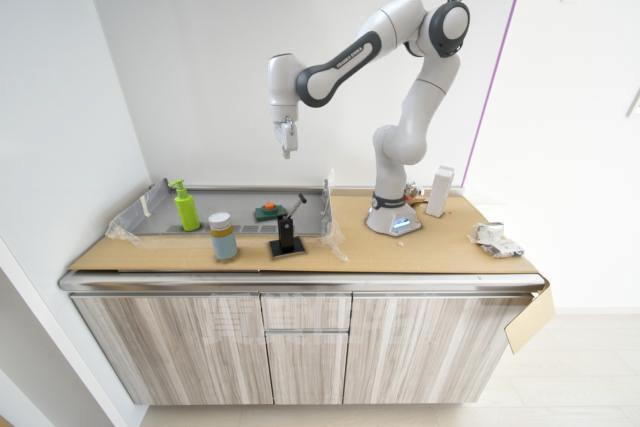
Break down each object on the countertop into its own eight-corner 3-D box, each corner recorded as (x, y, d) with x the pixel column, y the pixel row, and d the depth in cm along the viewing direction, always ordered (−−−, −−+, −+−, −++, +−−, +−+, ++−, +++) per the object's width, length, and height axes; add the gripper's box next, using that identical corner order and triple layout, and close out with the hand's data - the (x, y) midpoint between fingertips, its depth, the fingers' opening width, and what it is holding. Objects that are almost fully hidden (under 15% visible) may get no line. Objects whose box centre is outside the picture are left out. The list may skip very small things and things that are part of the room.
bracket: (298, 238, 91) (297, 208, 85) (305, 252, 83) (304, 221, 77) (269, 243, 88) (266, 213, 82) (273, 259, 80) (270, 226, 74)
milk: (438, 217, 107) (452, 170, 96) (424, 213, 110) (436, 166, 100) (443, 213, 111) (457, 166, 100) (429, 208, 114) (441, 163, 104)
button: (273, 205, 107) (273, 202, 106) (275, 209, 104) (274, 205, 103) (264, 206, 106) (264, 203, 105) (265, 210, 103) (265, 207, 102)
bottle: (231, 263, 78) (223, 224, 71) (212, 260, 79) (202, 221, 72) (241, 250, 84) (235, 213, 77) (223, 248, 85) (215, 210, 78)
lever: (304, 195, 81) (299, 191, 80) (308, 201, 77) (303, 197, 75) (284, 222, 83) (278, 219, 82) (287, 230, 79) (281, 227, 78)
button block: (282, 208, 112) (281, 201, 110) (285, 218, 105) (285, 209, 103) (255, 212, 109) (254, 204, 107) (257, 222, 101) (256, 213, 99)
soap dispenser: (178, 230, 95) (163, 182, 85) (192, 222, 100) (179, 176, 91) (189, 233, 93) (175, 185, 83) (203, 225, 98) (191, 179, 89)
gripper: (302, 118, 68) (303, 166, 75) (287, 111, 85) (289, 150, 92) (280, 119, 67) (283, 167, 73) (269, 111, 84) (272, 151, 90)
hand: (286, 157), depth 83 cm, fingers closed
